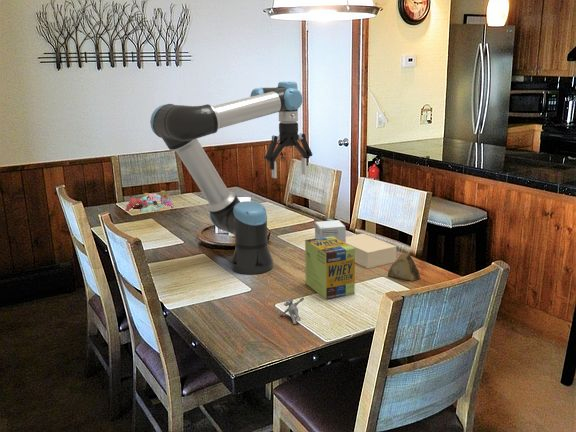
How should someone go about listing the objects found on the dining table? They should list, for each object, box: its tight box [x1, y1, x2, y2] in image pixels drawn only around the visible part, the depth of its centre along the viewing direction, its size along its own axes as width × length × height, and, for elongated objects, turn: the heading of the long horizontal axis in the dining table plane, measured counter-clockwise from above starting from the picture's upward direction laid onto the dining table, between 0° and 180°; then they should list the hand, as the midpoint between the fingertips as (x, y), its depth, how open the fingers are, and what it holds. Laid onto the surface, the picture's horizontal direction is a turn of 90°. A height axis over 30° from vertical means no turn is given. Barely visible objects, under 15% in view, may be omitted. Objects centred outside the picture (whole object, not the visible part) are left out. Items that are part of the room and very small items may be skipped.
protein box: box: [304, 236, 356, 300], centre depth 181 cm, size 10×15×16 cm
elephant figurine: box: [279, 297, 305, 325], centre depth 161 cm, size 9×5×8 cm
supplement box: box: [314, 219, 347, 243], centre depth 198 cm, size 10×9×17 cm
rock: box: [387, 253, 422, 281], centre depth 191 cm, size 10×8×10 cm
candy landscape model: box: [125, 190, 174, 212], centre depth 292 cm, size 25×24×9 cm
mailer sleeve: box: [346, 233, 397, 270], centre depth 211 cm, size 20×13×6 cm, turn 30°
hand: (289, 176), depth 223 cm, fingers open, 13 cm apart
